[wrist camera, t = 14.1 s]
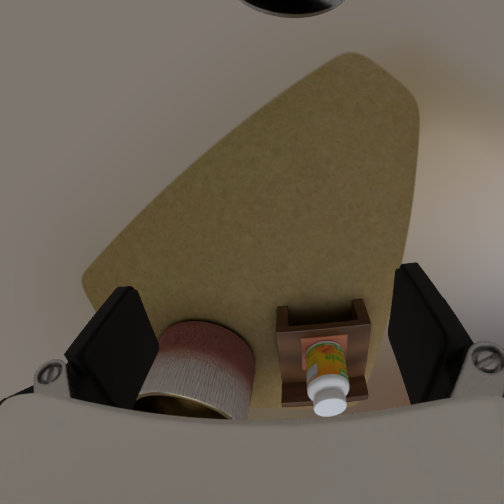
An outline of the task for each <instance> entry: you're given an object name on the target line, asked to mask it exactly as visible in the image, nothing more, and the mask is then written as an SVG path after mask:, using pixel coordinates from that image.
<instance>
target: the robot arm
mask: <svg viewBox="0 0 504 504" xmlns="http://www.w3.org/2000/svg"><path fill="white" fill-rule="evenodd" d="M388 337H389V341H390V344H391V346H392V349H393V352H394V354H395V357H396V360H397V363H398V366H399V369H400V372H401V375H402V378H403V381H404V384H405V387H406V390H407V393H408V396H409V400H410V403H411V405H408V406H403V407H397V408H392V409H385V410H379V411H372V412H364V413H358V414H350V415H341V416H331V417H320V418H307V419H286V420H227V419H207V418H193V417H182V416H172V415H163V414H155V413H148V412H141V411H134V410H132V408H133V406H134V404H135V401H136V399H137V397H138V395H139V393H140V390H141V388H142V386H143V384H144V382H145V380H146V377H147V375H148V373H149V371H150V369H151V367H152V365H153V362H154V360H155V358H156V356H157V354H158V352H159V343H158V340H157V338H156V336H155V333H154V331H153V329H152V326H151V324H150V321H149V319H148V316H147V314H146V311H145V309H144V306H143V303H142V301H141V298H140V296H139V293H138V291H137V290H134V288H133V287H131V286H125V287H117V288H116V289H115V290H114V292H113V293H112V294H111V295H110V296H109V298H108V299H107V300H106V301H105V303H104V304H103V305H102V306H101V307H100V309H99V310H98V311H97V312H96V314H95V315H94V316H93V317H92V319H91V320H90V321H89V322H88V324H87V325H86V326H85V327H84V329H83V330H82V331H81V333H80V334H79V335H78V337H77V338H76V339H75V340H74V342H73V343H72V344H71V346H70V347H69V348H68V350H67V351H66V353H65V354H64V355H65V357H66V358H67V360H68V363H67V364H65V363H64V362H63V361H62V360H59V359H53V360H50V361H48V362H46V363H44V364H43V365H42V366H40V367H39V369H38V370H37V371H36V373H35V375H34V385H33V386H31V387H29V388H27V389H24V390H23V391H20V392H18V393H16V394H14V395H11V396H9V397H8V398H4V399H3V400H1V401H0V504H504V349H503V348H502V347H500V346H499V345H498V344H495V343H493V342H489V341H480V342H477V343H475V344H474V343H473V342H472V340H471V339H470V337H469V335H468V334H467V332H466V330H465V329H464V327H463V326H462V324H461V323H460V321H459V319H458V318H457V317H456V315H455V314H454V312H453V310H452V309H451V308H450V306H449V305H448V303H447V302H446V300H445V299H444V298H443V297H442V296H441V294H440V293H439V291H438V290H437V289H436V287H435V286H434V284H433V283H432V282H431V280H430V279H429V278H428V276H427V275H426V274H425V272H424V271H423V270H422V268H421V267H420V266H419V264H418V263H407V264H401V266H400V269H396V271H395V279H394V289H393V297H392V306H391V313H390V320H389V327H388Z"/></svg>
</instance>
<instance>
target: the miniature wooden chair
mask: <svg viewBox="0 0 504 504" xmlns="http://www.w3.org/2000/svg"><path fill="white" fill-rule="evenodd" d="M370 330H371V322H370V319H369V316H368V313H367V310H366V307H365V304H364V302H363V299H357V300H352V321H344V322H334V323H324V324H313V325H301V326H290V325H289V315H288V307H287V306H283V307H277V316H276V340H277V347H278V355H279V362H280V370H281V377H282V402H281V404H282V407H299V406H313V401H312V400H311V399H310V398H309V396H308V393H307V376H306V353H307V350H308V349H309V348H310V347H311V346H312V345H313V344H315V343H317V342H321V341H333V342H336V343H338V344H339V345H340V346H341V347H342V349H343V352H344V357H345V363H346V368H347V374H348V380H349V391H348V394H347V395H346V396H345V397H346V402H352V401H359V400H366V399H368V390H367V386H366V381H365V377H364V374H365V368H366V361H367V354H368V347H369V339H370Z"/></svg>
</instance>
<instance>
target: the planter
mask: <svg viewBox="0 0 504 504" xmlns="http://www.w3.org/2000/svg"><path fill="white" fill-rule="evenodd" d="M158 343H159V352H158V354H157V356H156V358H155V360H154V362H153V365H152V367H151V369H150V371H149V373H148V375H147V377H146V380H145V382H144V384H143V386H142V388H141V390H140V393H139V395H138V397H137V399H136V401H135V404H134V406H133V408H132V410H134V411H141V412H148V413H155V414H163V415H172V416H182V417H193V418H207V419H227V420H248V414H249V407H250V401H251V395H252V388H253V382H254V374H255V359H254V356H253V353H252V351H251V350H250V348H249V347H248V345H247V344H246V343H245V342H244V341H243V340H242V339H241V338H240V337H238V336H237V335H236V334H234V333H233V332H231V331H229V330H227V329H225V328H223V327H221V326H218V325H215V324H211V323H207V322H200V321H187V322H181V323H177V324H174V325H172V326H170V327H169V328H167V329H166V330H165V331H164V332H163V333H162V334H161V335H160V337H159V339H158Z"/></svg>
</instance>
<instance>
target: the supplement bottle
mask: <svg viewBox="0 0 504 504" xmlns="http://www.w3.org/2000/svg"><path fill="white" fill-rule="evenodd" d="M306 376H307V393H308V396H309V398H310V399H311V400H312V401H313V408H314V412H315V413H316V414H317V415H320V416H324V417H330V416H335V415H338V414H340V413H342V412H343V411H344V410H345V409H346V406H347V404H346V397H345V396H346V395H347V394H348V391H349V380H348V374H347V368H346V363H345V357H344V352H343V349H342V347H341V346H340V345H339V344H338V343H336V342H333V341H321V342H317V343H315V344H313V345H312V346H311V347H310V348H309V349H308V350H307V353H306Z"/></svg>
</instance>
